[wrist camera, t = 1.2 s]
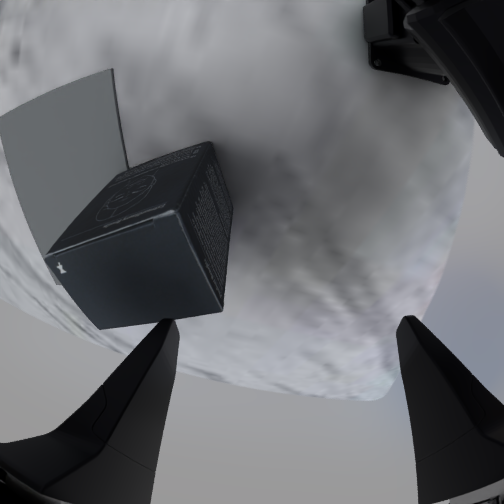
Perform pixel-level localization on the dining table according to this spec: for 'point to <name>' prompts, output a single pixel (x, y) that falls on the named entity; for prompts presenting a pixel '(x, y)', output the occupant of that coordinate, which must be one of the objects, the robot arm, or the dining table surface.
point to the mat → (63, 153)
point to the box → (150, 243)
